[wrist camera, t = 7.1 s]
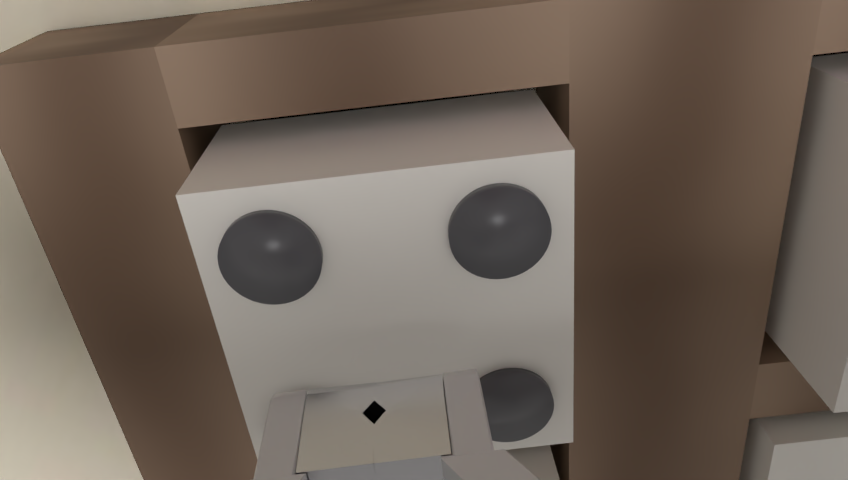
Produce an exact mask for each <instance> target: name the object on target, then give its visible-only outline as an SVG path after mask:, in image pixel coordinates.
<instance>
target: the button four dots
mask: <svg viewBox="0 0 848 480" xmlns="http://www.w3.org/2000/svg"><path fill="white" fill-rule="evenodd" d="M574 169H575V149H574V148H573V146H572V145H571V143H570V142H569V141H568V139H567V138H566V136H565V135H564V133H563V132H562V130H561V129H560V127H559V126H558V124H557V123H556V121H555V120H554V119H553V117H552V116H551V114H550V113H549V111H548V110H547V108H546V107H545V105H544V104H543V102H542V101H541V100H540V98H539V97H538V95H537V94H536V92H535V91H534V89H531V90H523V91H514V92H505V93H497V94H488V95H479V96H471V97H462V98H454V99H445V100H436V101H428V102H419V103H410V104H402V105H393V106H385V107H376V108H367V109H359V110H350V111H341V112H333V113H324V114H316V115H307V116H298V117H290V118H281V119H272V120H264V121H255V122H247V123H238V124H229V125H222V126H221V127H220V129H219V130H218V132H217V133H216V135H215V136H214V138H213V139H212V141H211V142H210V144H209V145H208V147H207V148H206V150H205V151H204V153H203V154H202V156H201V157H200V159H199V160H198V162H197V163H196V165H195V166H194V168H193V170H192V171H191V173H190V174H189V176H188V177H187V179H186V180H185V182H184V183H183V185H182V186H181V188H180V189H179V191H178V192H177V194H176V195H175V196H176V199H177V202H178V205H179V209H180V212H181V215H182V218H183V222H184V225H185V228H186V231H187V234H188V238H189V241H190V244H191V247H192V250H193V254H194V257H195V260H196V263H197V267H198V270H199V273H200V276H201V279H202V283H203V286H204V289H205V292H206V296H207V299H208V302H209V305H210V308H211V312H212V315H213V318H214V321H215V325H216V328H217V331H218V334H219V337H220V341H221V344H222V347H223V350H224V353H225V357H226V360H227V363H228V366H229V370H230V373H231V376H232V379H233V382H234V386H235V389H236V392H237V395H238V399H239V402H240V405H241V408H242V411H243V415H244V418H245V421H246V424H247V428H248V431H249V434H250V437H251V440H252V444H253V447H254V450H255V453H256V456H257V460H258V455H259V450H260V445H261V441H262V436H263V431H264V427H265V422H266V417H267V412H268V408H269V403H270V400H271V398H272V397H273V395H274V394H275V393H281V392H291V391H300V390H309V389H315V388H325V387H335V386H345V385H356V384H366V383H377V382H385V381H393V380H400V379H408V378H416V377H424V376H432V375H440V374H442V380H443V373H448V372H455V371H462V370H469V369H476V370H477V371H478V373H479V378H480V383H481V388H482V393H483V398H484V402H485V407H486V412H487V417H488V422H489V427H490V432H491V437H492V442H493V447H494V450H502V449H505V450H510V449H518V448H527V447H536V446H545V445H554V444H563V443H572V442H573V390H574ZM443 387H444V386H443ZM444 395H445V394H444Z"/></svg>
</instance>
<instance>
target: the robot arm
mask: <svg viewBox="0 0 848 480" xmlns="http://www.w3.org/2000/svg"><path fill="white" fill-rule="evenodd" d="M443 386H444V387H443ZM444 394H445V395H444ZM253 480H540V479H539V478H538V477H537V476H536V475H534V474H533V473H532V472H531V471H530V470H529V469H527V468H526V467H525V466H524V465H523V464H521V463H520V462H519V461H518V460H517V459H516V458H514V457H513V456H512V455H511V454H510V453H508V452H507V451H506V450H505V449H502V450H494V447H493V442H492V437H491V432H490V427H489V422H488V417H487V412H486V407H485V402H484V398H483V393H482V388H481V383H480V378H479V373H478V371H477V370H476V369H469V370H462V371H455V372H448V373H443V380H442V374H440V375H432V376H424V377H416V378H408V379H400V380H393V381H385V382H377V383H366V384H356V385H345V386H335V387H325V388H315V389H309V390H300V391H291V392H281V393H275V394H274V395H273V397H272V398H271V400H270V403H269V408H268V412H267V417H266V422H265V427H264V431H263V436H262V441H261V445H260V450H259V455H258V460H257V464H256V469H255V474H254V478H253Z"/></svg>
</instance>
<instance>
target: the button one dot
mask: <svg viewBox="0 0 848 480" xmlns="http://www.w3.org/2000/svg"><path fill="white" fill-rule="evenodd" d="M739 480H848V412H839V413H833V412H832V411H831V410H825V411H816V412H807V413H798V414H789V415H780V416H771V417H763V418H754V419H749V425H748V431H747V437H746V442H745V448H744V454H743V460H742V465H741V471H740V477H739Z"/></svg>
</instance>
